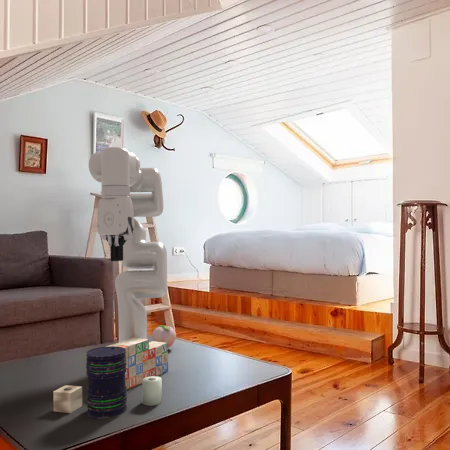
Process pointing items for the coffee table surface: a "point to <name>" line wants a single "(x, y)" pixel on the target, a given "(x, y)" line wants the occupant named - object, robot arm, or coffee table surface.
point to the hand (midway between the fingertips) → (117, 260)
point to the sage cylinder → (152, 391)
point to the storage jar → (106, 382)
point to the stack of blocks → (143, 359)
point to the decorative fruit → (164, 335)
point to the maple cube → (67, 398)
